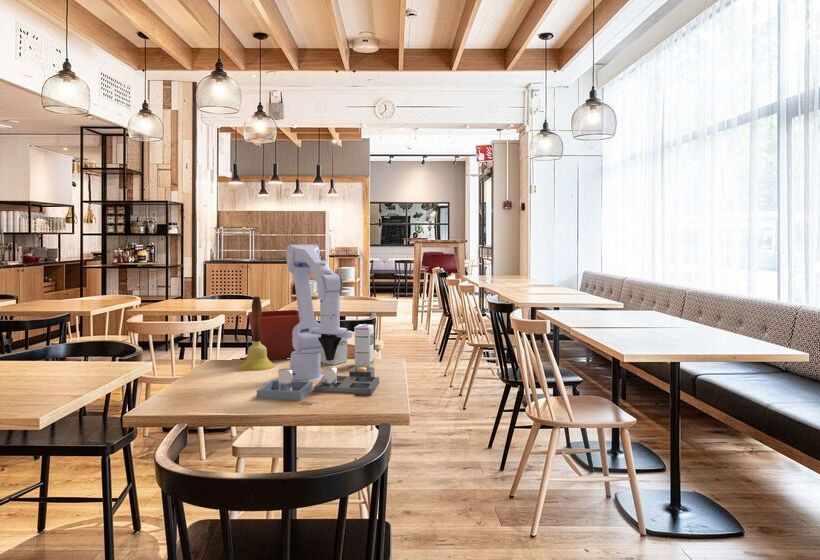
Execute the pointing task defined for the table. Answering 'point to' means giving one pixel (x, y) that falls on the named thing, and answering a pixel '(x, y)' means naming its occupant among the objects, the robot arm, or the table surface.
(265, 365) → the handbell
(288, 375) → the billet
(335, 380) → the cylinder
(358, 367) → the button
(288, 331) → the plant pot
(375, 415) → the table surface
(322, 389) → the frame
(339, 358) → the supplement box
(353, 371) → the button housing
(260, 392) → the tote
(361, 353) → the syrup box
